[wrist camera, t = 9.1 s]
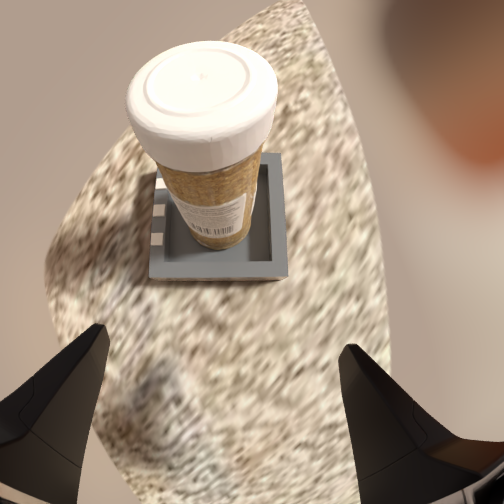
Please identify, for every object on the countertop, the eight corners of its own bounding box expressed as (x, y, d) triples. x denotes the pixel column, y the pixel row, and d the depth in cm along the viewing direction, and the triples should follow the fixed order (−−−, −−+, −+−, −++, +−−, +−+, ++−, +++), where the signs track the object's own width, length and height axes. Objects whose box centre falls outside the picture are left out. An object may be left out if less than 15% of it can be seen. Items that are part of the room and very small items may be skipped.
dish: (282, 280, 20) (288, 276, 17) (158, 280, 19) (147, 277, 17) (276, 167, 22) (281, 151, 19) (165, 169, 21) (158, 153, 18)
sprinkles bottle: (260, 205, 20) (301, 56, 7) (235, 262, 19) (239, 163, 6) (204, 182, 20) (176, 28, 7) (176, 236, 19) (90, 116, 6)
